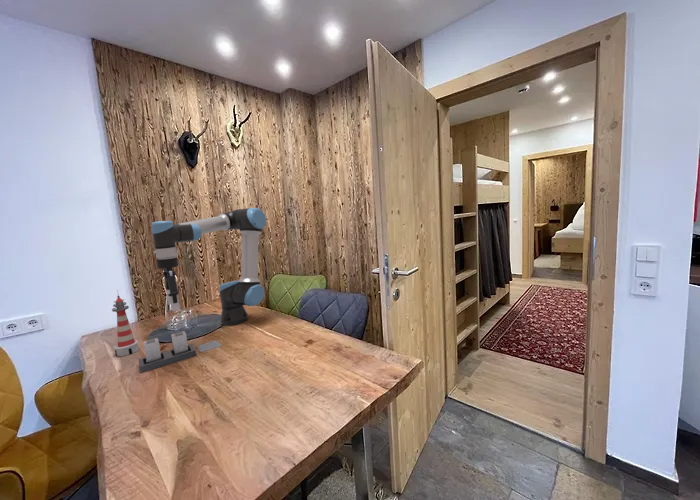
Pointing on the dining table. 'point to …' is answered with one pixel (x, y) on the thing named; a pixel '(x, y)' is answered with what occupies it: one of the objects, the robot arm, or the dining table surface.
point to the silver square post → (152, 350)
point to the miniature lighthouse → (123, 331)
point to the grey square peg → (179, 343)
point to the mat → (209, 346)
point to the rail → (166, 359)
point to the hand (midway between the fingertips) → (174, 307)
